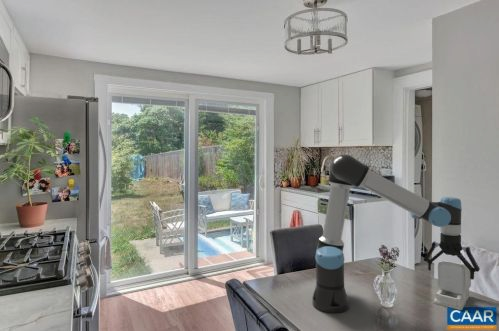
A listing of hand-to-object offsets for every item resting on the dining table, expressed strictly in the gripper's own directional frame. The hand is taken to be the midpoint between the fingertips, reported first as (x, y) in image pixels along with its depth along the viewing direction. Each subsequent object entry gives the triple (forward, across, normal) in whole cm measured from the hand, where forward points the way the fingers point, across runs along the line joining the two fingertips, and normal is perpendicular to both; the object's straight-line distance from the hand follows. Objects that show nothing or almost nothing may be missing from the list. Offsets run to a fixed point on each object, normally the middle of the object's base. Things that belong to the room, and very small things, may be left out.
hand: (450, 282), depth 133 cm
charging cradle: (+8, 0, 0) cm, 8 cm away
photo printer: (+4, 0, 0) cm, 4 cm away
